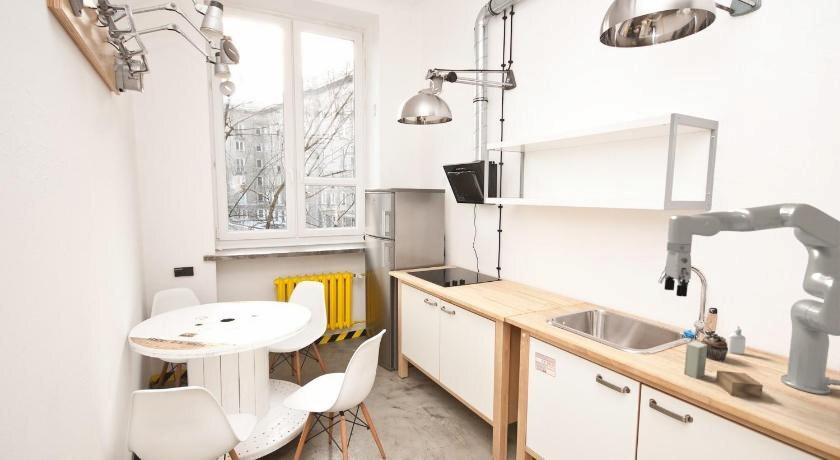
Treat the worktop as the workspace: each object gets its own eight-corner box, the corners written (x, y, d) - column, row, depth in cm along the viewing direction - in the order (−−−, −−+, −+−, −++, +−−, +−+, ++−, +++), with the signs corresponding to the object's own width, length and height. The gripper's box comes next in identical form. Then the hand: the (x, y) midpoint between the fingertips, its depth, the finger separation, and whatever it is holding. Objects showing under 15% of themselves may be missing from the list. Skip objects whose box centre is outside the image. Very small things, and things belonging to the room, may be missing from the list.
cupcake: (733, 361, 158) (735, 338, 157) (714, 362, 156) (716, 339, 155) (711, 352, 167) (713, 330, 167) (693, 353, 166) (695, 330, 165)
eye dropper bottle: (742, 356, 164) (745, 329, 163) (726, 351, 168) (729, 325, 167) (744, 353, 167) (747, 327, 166) (728, 349, 171) (731, 323, 170)
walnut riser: (743, 386, 137) (745, 373, 136) (761, 399, 128) (762, 385, 127) (715, 383, 138) (717, 370, 138) (731, 396, 129) (732, 382, 129)
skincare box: (692, 370, 148) (695, 340, 147) (705, 375, 144) (708, 344, 143) (683, 373, 145) (686, 343, 144) (696, 379, 141) (699, 347, 140)
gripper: (702, 251, 133) (698, 299, 134) (678, 246, 150) (675, 288, 151) (678, 250, 134) (674, 297, 136) (657, 245, 151) (654, 287, 153)
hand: (675, 292), depth 143 cm, fingers open, 9 cm apart
